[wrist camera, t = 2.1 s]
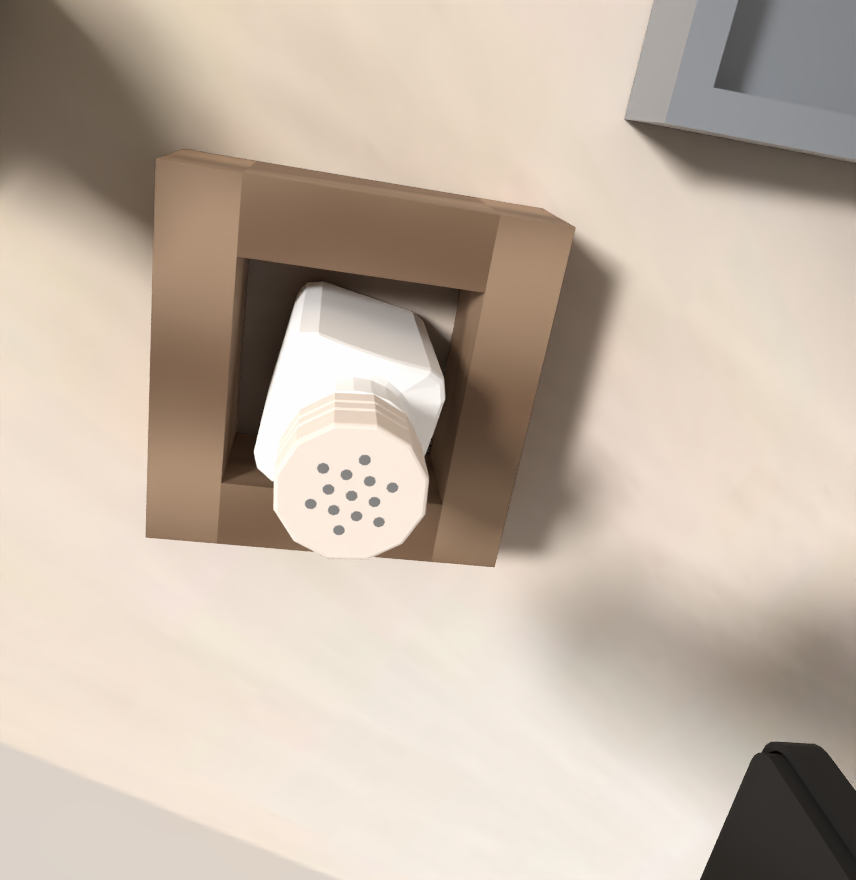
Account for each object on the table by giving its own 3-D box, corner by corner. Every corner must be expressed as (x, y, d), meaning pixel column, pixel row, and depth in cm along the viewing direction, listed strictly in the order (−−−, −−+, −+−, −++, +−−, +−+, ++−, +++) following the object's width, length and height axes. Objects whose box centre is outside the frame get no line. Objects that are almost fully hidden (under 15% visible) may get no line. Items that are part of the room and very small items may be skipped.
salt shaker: (386, 425, 25) (410, 597, 17) (267, 389, 24) (228, 552, 16) (428, 312, 24) (479, 436, 15) (303, 270, 23) (282, 377, 14)
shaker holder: (182, 148, 21) (155, 158, 18) (542, 208, 23) (575, 227, 20) (170, 481, 25) (145, 537, 22) (476, 511, 27) (494, 567, 24)
